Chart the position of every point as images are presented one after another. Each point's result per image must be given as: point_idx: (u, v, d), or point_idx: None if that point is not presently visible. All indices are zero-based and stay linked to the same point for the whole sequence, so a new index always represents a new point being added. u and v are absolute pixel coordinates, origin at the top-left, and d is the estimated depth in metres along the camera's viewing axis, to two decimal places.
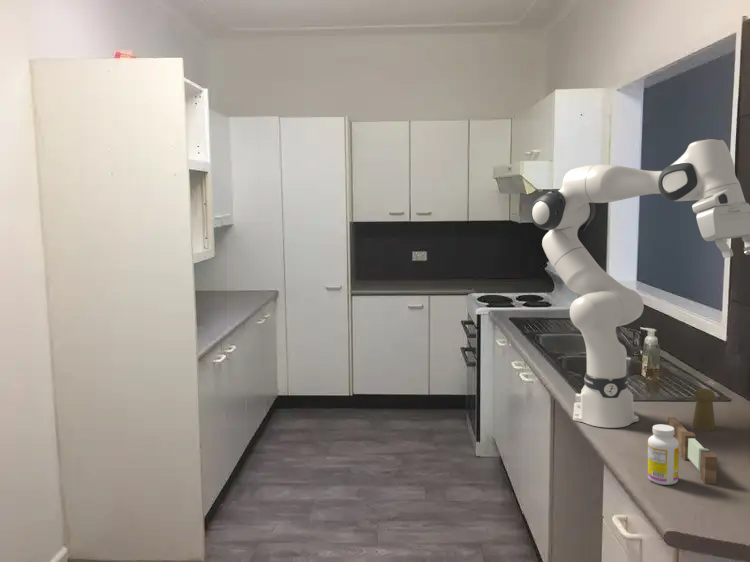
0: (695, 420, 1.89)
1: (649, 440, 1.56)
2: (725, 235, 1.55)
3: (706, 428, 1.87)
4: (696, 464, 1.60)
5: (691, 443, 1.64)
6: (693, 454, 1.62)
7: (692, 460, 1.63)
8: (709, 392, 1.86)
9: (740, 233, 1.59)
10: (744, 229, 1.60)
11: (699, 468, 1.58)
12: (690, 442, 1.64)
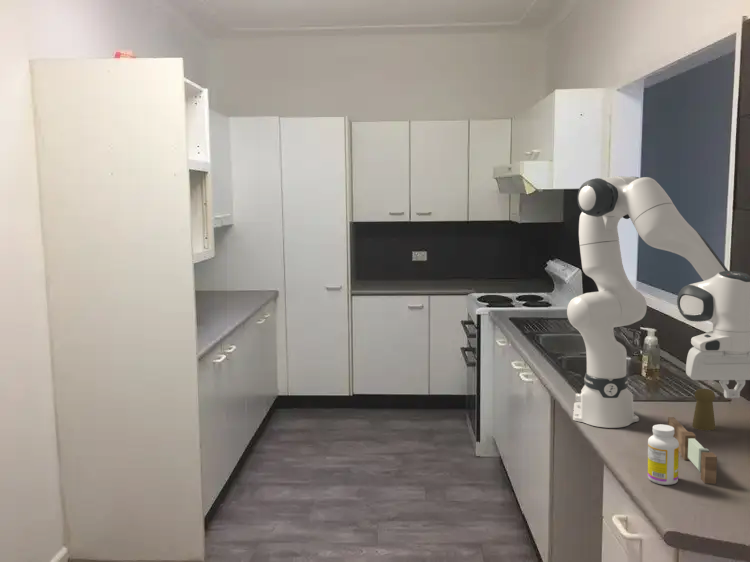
0: (695, 420, 1.89)
1: (649, 440, 1.56)
2: (706, 379, 1.57)
3: (706, 428, 1.87)
4: (696, 464, 1.60)
5: (691, 443, 1.64)
6: (693, 454, 1.62)
7: (692, 460, 1.63)
8: (709, 392, 1.86)
9: (735, 378, 1.56)
10: (743, 375, 1.55)
11: (699, 468, 1.58)
12: (690, 442, 1.64)
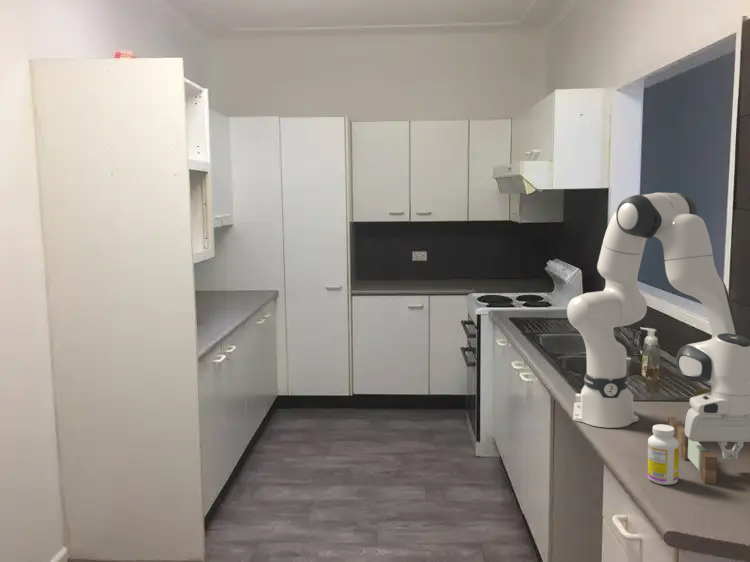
0: None
1: (649, 440, 1.56)
2: (704, 440, 1.58)
3: None
4: (696, 464, 1.60)
5: (691, 443, 1.64)
6: (693, 454, 1.62)
7: (692, 460, 1.63)
8: None
9: (733, 440, 1.58)
10: (741, 437, 1.57)
11: (699, 468, 1.58)
12: (690, 442, 1.64)
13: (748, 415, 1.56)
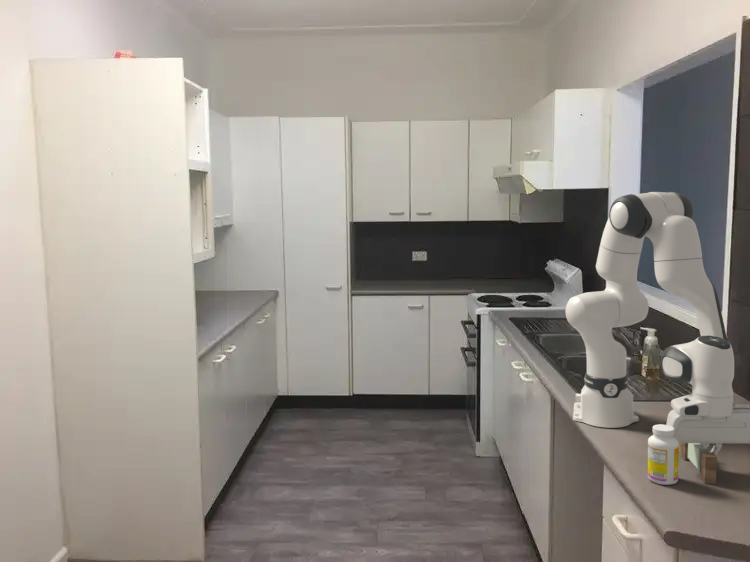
0: None
1: (649, 440, 1.56)
2: (685, 442, 1.59)
3: None
4: (696, 464, 1.60)
5: (691, 443, 1.64)
6: (693, 454, 1.62)
7: (691, 460, 1.63)
8: None
9: (713, 442, 1.59)
10: (722, 439, 1.58)
11: (699, 468, 1.58)
12: None
13: (728, 417, 1.57)
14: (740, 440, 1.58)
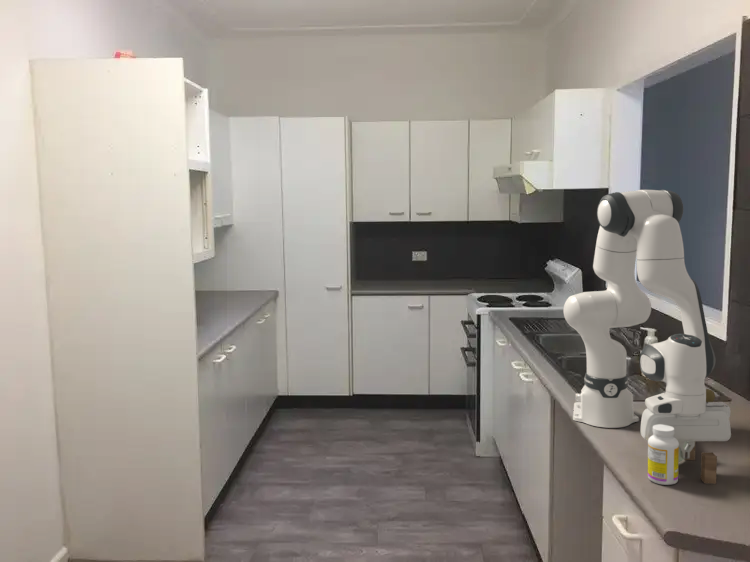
0: None
1: (649, 440, 1.56)
2: None
3: None
4: None
5: None
6: None
7: None
8: (709, 392, 1.86)
9: (687, 440, 1.59)
10: (695, 436, 1.59)
11: None
12: None
13: (701, 415, 1.58)
14: (713, 438, 1.59)
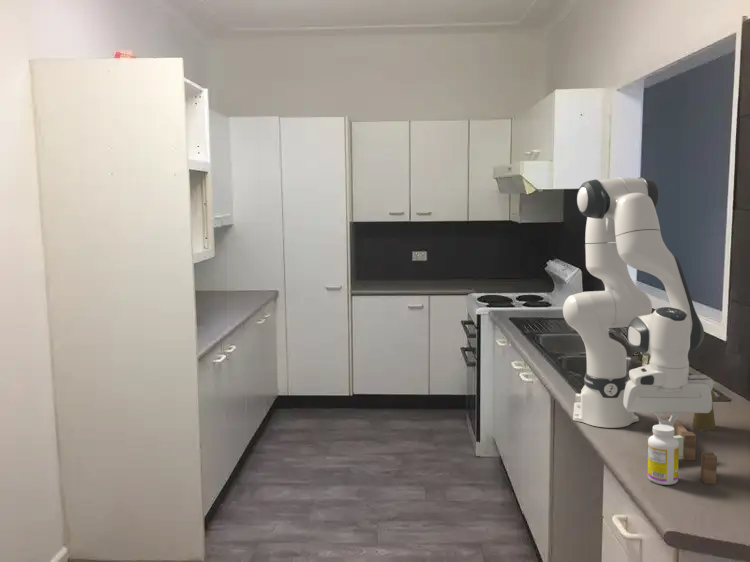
0: (695, 420, 1.89)
1: (649, 440, 1.56)
2: (641, 411, 1.63)
3: (706, 428, 1.87)
4: None
5: None
6: None
7: None
8: None
9: (668, 411, 1.62)
10: (677, 408, 1.61)
11: None
12: None
13: (683, 387, 1.60)
14: (695, 409, 1.61)
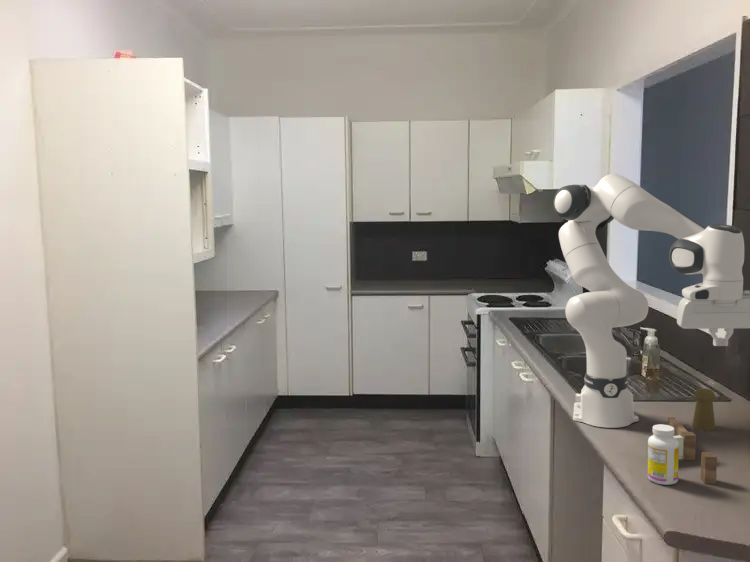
0: (695, 420, 1.89)
1: (649, 440, 1.56)
2: (696, 327, 1.64)
3: (706, 428, 1.87)
4: None
5: None
6: None
7: None
8: (709, 392, 1.86)
9: (723, 327, 1.63)
10: (731, 323, 1.63)
11: None
12: None
13: (738, 302, 1.62)
14: (749, 324, 1.62)
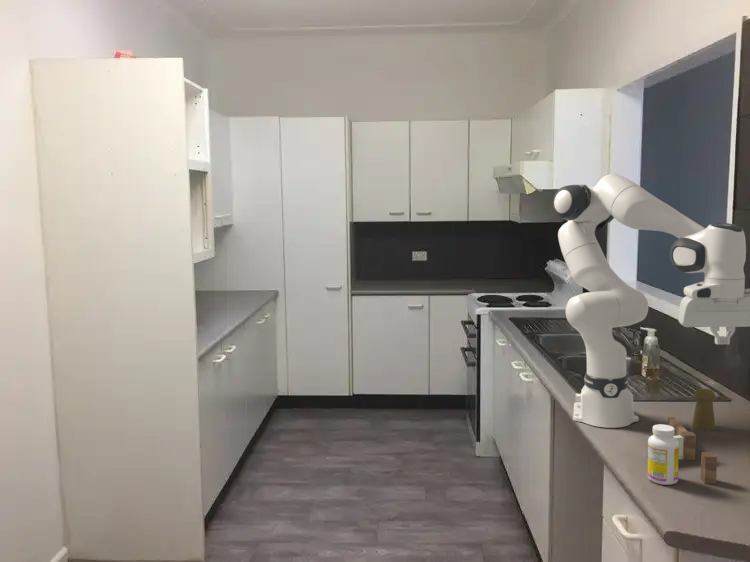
0: (695, 420, 1.89)
1: (649, 440, 1.56)
2: (698, 326, 1.64)
3: (706, 428, 1.87)
4: None
5: None
6: None
7: None
8: (709, 392, 1.86)
9: (725, 325, 1.63)
10: (733, 322, 1.63)
11: None
12: None
13: (740, 300, 1.62)
14: None
